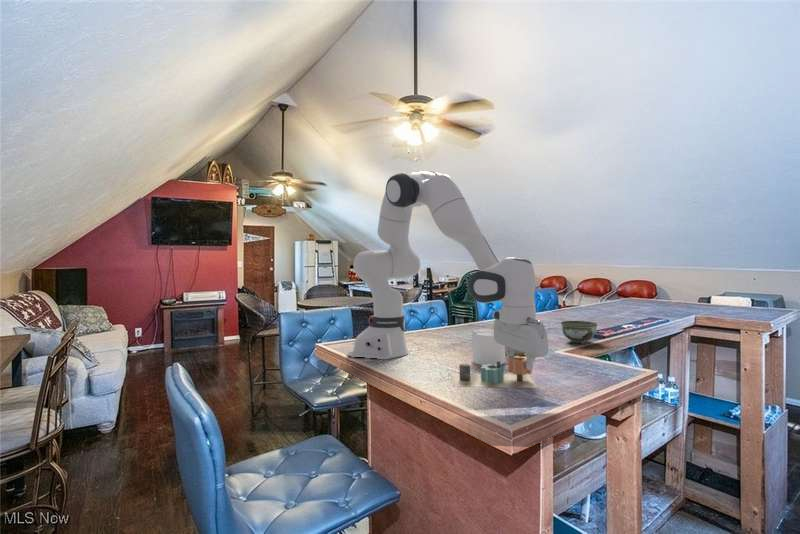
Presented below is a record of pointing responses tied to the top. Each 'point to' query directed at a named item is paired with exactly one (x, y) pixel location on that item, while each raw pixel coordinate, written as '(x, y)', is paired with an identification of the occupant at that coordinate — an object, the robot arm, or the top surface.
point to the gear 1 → (492, 373)
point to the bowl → (579, 330)
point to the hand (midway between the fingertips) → (519, 365)
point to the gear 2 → (517, 365)
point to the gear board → (474, 380)
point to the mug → (486, 348)
